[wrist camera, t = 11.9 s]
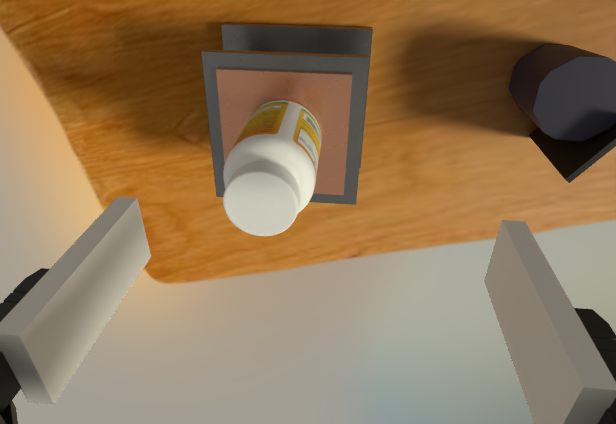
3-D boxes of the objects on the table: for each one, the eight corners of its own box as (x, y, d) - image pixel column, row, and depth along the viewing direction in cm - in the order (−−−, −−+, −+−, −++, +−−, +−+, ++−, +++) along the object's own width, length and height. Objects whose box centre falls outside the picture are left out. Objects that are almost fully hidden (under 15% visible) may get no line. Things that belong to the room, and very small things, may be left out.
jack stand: (372, 27, 35) (377, 51, 28) (359, 162, 42) (361, 213, 34) (224, 22, 36) (190, 44, 28) (235, 156, 42) (209, 204, 35)
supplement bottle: (237, 153, 32) (197, 227, 24) (259, 85, 29) (224, 142, 21) (305, 180, 33) (290, 260, 25) (333, 116, 30) (327, 183, 22)
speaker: (600, 106, 37) (665, 149, 28) (529, 139, 39) (569, 188, 30) (569, 23, 34) (629, 41, 25) (495, 63, 37) (527, 92, 28)
